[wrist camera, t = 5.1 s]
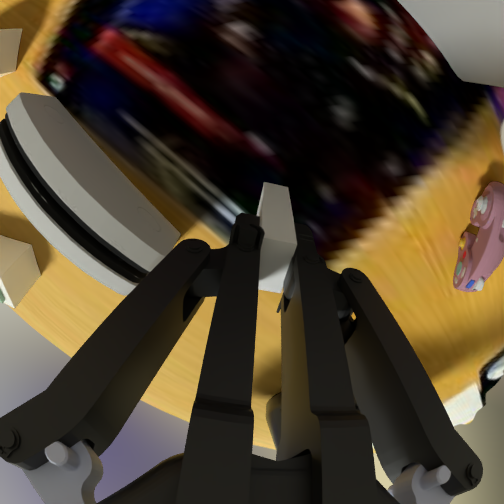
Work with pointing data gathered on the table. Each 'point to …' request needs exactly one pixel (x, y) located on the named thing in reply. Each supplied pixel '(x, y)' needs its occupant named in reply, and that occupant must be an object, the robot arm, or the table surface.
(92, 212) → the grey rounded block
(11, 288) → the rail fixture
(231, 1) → the table surface
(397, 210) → the table surface
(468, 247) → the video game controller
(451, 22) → the fuel canister
